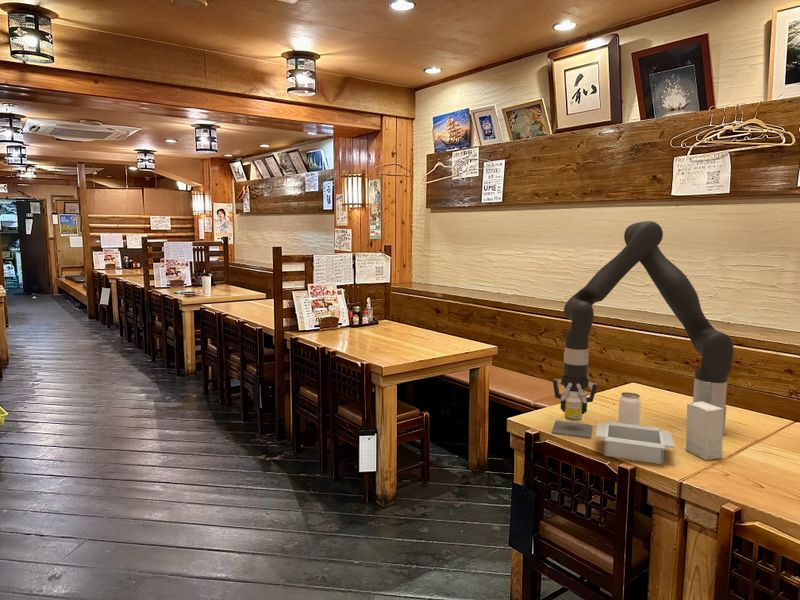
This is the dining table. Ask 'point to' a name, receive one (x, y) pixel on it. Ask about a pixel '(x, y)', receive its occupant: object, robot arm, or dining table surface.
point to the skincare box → (704, 430)
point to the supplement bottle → (573, 407)
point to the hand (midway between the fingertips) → (573, 412)
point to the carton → (634, 441)
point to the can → (629, 408)
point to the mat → (572, 429)
